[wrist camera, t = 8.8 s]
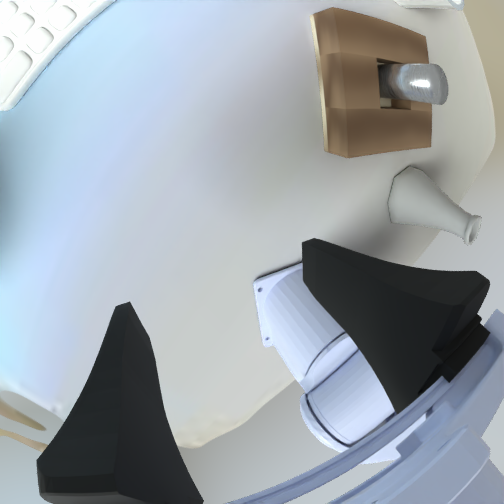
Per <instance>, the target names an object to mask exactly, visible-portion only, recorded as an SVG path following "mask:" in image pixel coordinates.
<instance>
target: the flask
mask: <svg viewBox="0 0 504 504" xmlns="http://www.w3.org/2000/svg"><path fill="white" fill-rule="evenodd" d="M388 206H389V212H390V218H391V223H398V224H408V225H418V226H424V227H431V228H437V229H441V230H444V231H447V232H450V233H453V234H455V235H457V236H459V237H460V238H462V239H463V240H464V243H465V244H466V245H471V244H472V243H473V242H474V241H475V239H476V238H477V235H478V232H479V229H480V226H481V217H480V216H478V215H471V214H469V213H467V212H465V211H464V210H463V209H462V208H461V207H459V206H458V205H457V204H455V203H454V202H453V201H452V200H451V199H450V198H449V197H448V196H447V195H446V194H445V193H444V192H443V191H442V190H441V189H440V188H439V187H438V186H437V185H436V184H435V183H434V182H433V181H432V180H431V179H430V178H429V177H428V176H427V175H426V174H425V173H424V172H423V171H422V170H419V169H416V168H413V167H410V166H409V167H408V168H406V169H405V170H404V171H402V172H401V173H400V174H399V175H397V176H396V177H395V178H394V181H393V185H392V189H391V193H390V197H389V200H388Z"/></svg>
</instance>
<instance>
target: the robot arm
mask: <svg viewBox="0 0 504 504" xmlns="http://www.w3.org/2000/svg"><path fill="white" fill-rule="evenodd" d="M253 287H254V293H255V299H256V305H257V311H258V317H259V323H260V329H261V335H262V341H263V345H264V347H269V346H271V345H274V346H275V348H276V350H277V351H278V353H279V354H280V356H281V357H282V359H283V360H284V362H285V364H286V365H287V367H288V368H289V370H290V371H291V373H292V374H293V376H294V377H295V379H296V380H297V381H298V382H299V383H300V385H301V386H302V388H303V389H304V391H305V393H304V394H303V395H302V396H301V397H300V411H301V415H302V417H303V420H304V422H305V423H306V425H307V427H308V428H309V429H310V431H311V432H312V433H313V434H314V435H315V437H317V439H319V440H320V441H321V442H322V443H323V444H325V445H326V446H328V447H330V448H332V449H335V450H337V451H338V452H340V454H339V455H337V456H335V457H334V458H332V459H330V460H328V461H326V462H324V463H323V464H321V465H319V466H317V467H315V468H313V469H311V470H309V471H307V472H305V473H303V474H301V475H299V476H297V477H294V478H292V479H290V480H288V481H286V482H283V483H281V484H279V485H276V486H274V487H271V488H269V489H266V490H264V491H261V492H258V493H256V494H253V495H250V496H247V497H244V498H241V499H238V500H235V501H231V502H228V503H225V504H284V503H286V502H288V501H291V500H293V499H295V498H297V497H300V496H302V495H304V494H306V493H308V492H310V491H312V490H314V489H316V488H318V487H320V486H322V485H324V484H326V483H327V482H330V481H331V480H333V479H335V478H337V477H339V476H340V475H342V474H344V473H345V472H347V471H349V470H350V469H352V468H354V467H355V466H357V465H358V464H367V463H368V464H369V463H376V462H383V461H389V460H395V461H394V462H392V463H391V464H390V465H388V466H387V467H386V468H384V469H383V470H381V471H380V472H378V473H377V474H376V475H374V476H373V477H371V478H370V479H368V480H366V481H365V482H363V483H362V484H360V485H358V486H357V487H355V488H354V489H352V490H350V491H348V492H347V493H345V494H343V495H342V496H340V497H338V498H336V499H334V500H332V501H331V502H329V503H327V504H504V476H503V475H502V474H501V473H500V471H499V470H498V469H497V468H496V467H495V465H494V464H493V463H492V462H491V461H490V459H489V456H490V448H489V447H488V445H487V444H486V443H485V442H484V441H483V440H482V439H481V437H482V435H483V433H484V432H485V430H486V429H487V427H488V425H489V424H490V422H491V420H492V418H493V416H494V415H495V413H496V411H497V409H498V408H499V405H500V404H501V402H502V400H503V398H504V314H503V313H501V312H500V311H499V310H498V309H496V310H495V311H494V313H493V314H492V315H491V317H490V318H489V319H488V321H487V322H486V324H485V325H484V326H483V325H481V324H480V322H481V320H482V318H481V317H480V316H479V315H478V314H477V313H478V311H479V309H480V307H481V305H482V303H483V301H484V299H485V297H486V295H487V292H488V290H489V287H490V281H489V280H488V279H487V278H486V277H484V276H483V275H481V274H480V273H478V272H477V271H440V270H429V269H422V268H415V267H410V266H405V265H400V264H396V263H391V262H387V261H384V260H380V259H377V258H374V257H370V256H367V255H364V254H361V253H358V252H355V251H352V250H349V249H346V248H344V247H341V246H338V245H335V244H332V243H329V242H326V241H323V240H320V239H316V238H313V239H310V240H307V241H305V242H302V263H300V264H297V265H295V266H292V267H289V268H287V269H284V270H281V271H279V272H276V273H273V274H270V275H268V276H265V277H262V278H259V279H257V280H255V281H254V283H253ZM260 287H261V289H259V288H260ZM258 289H259V290H258ZM37 474H38V485H39V492H40V496H41V497H42V498H43V499H44V500H46V501H48V502H50V503H53V504H203V502H204V500H203V498H202V497H201V495H200V493H199V491H198V489H197V488H196V486H195V484H194V482H193V480H192V478H191V476H190V474H189V472H188V470H187V468H186V466H185V464H184V462H183V459H182V457H181V455H180V452H179V450H178V448H177V445H176V442H175V440H174V437H173V434H172V432H171V429H170V426H169V423H168V420H167V417H166V413H165V410H164V405H163V400H162V395H161V390H160V384H159V379H158V373H157V367H156V361H155V356H154V353H153V349H152V345H151V342H150V338H149V336H148V334H147V332H146V330H145V329H144V327H143V325H142V323H141V321H140V320H139V318H138V316H137V314H136V312H135V310H134V308H133V306H132V305H131V303H130V302H127V303H124V304H121V305H118V306H116V307H115V309H114V312H113V315H112V317H111V320H110V323H109V326H108V329H107V331H106V334H105V337H104V340H103V342H102V345H101V348H100V351H99V353H98V356H97V358H96V361H95V363H94V366H93V368H92V371H91V373H90V375H89V378H88V380H87V382H86V384H85V386H84V388H83V390H82V392H81V394H80V396H79V398H78V399H77V401H76V403H75V405H74V407H73V408H72V410H71V412H70V414H69V416H68V417H67V419H66V420H65V422H64V424H63V425H62V427H61V428H60V430H59V431H58V433H57V434H56V436H55V437H54V439H53V440H52V441H51V443H50V444H49V445H48V446H47V448H46V449H45V450H44V452H43V453H42V454H41V455H40V457H39V458H38V459H37Z"/></svg>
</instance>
